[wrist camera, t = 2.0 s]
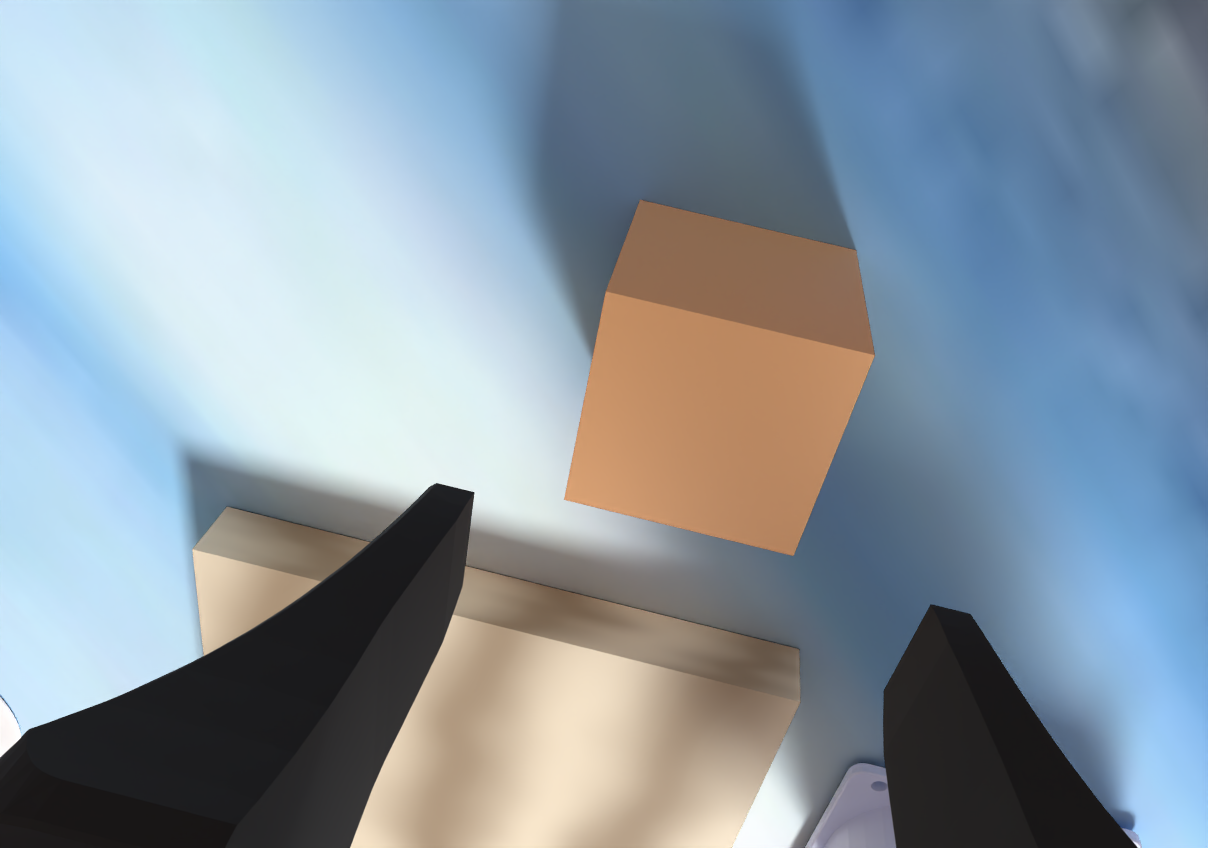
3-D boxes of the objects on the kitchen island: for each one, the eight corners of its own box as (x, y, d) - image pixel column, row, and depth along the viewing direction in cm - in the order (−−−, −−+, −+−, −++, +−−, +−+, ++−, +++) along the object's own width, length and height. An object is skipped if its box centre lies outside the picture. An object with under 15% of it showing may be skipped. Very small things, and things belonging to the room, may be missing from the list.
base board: (799, 649, 27) (800, 702, 26) (691, 889, 35) (687, 941, 34) (226, 506, 28) (192, 549, 26) (247, 774, 36) (221, 820, 34)
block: (856, 249, 21) (874, 355, 16) (791, 427, 23) (793, 555, 19) (640, 198, 21) (605, 291, 17) (602, 381, 24) (564, 499, 19)
